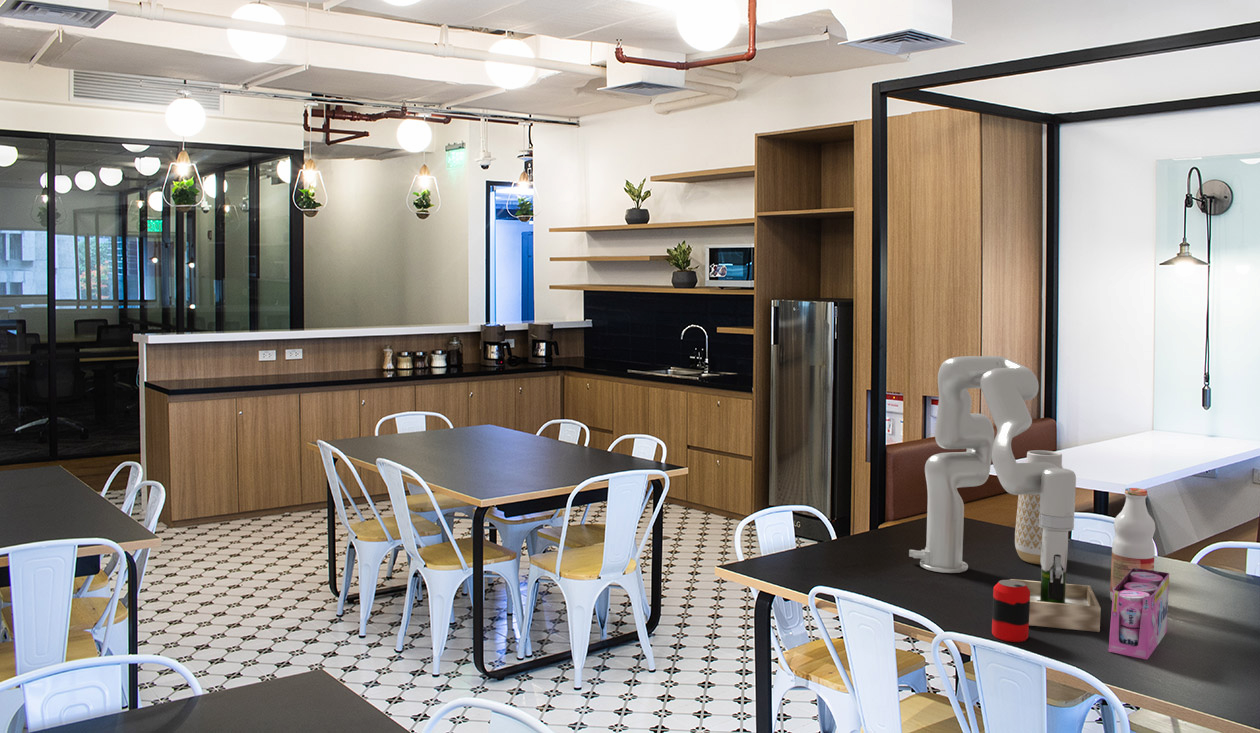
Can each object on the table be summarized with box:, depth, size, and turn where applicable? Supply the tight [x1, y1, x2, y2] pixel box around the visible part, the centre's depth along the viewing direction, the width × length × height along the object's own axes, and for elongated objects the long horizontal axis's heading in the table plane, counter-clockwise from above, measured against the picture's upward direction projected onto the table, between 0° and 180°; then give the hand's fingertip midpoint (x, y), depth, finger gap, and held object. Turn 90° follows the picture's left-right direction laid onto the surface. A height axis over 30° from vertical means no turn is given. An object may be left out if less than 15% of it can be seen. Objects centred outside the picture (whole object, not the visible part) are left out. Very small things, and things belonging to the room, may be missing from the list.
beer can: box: [1040, 567, 1067, 604], centre depth 244 cm, size 5×5×12 cm
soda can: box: [991, 579, 1030, 643], centre depth 230 cm, size 8×8×12 cm
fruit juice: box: [1109, 487, 1156, 601], centre depth 255 cm, size 9×9×28 cm
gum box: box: [1108, 568, 1170, 661], centre depth 227 cm, size 24×8×14 cm, turn 144°
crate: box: [1009, 578, 1102, 633], centre depth 245 cm, size 18×18×6 cm
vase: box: [1014, 449, 1064, 566], centre depth 292 cm, size 14×14×31 cm
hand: (1053, 593), depth 244 cm, fingers open, 9 cm apart
